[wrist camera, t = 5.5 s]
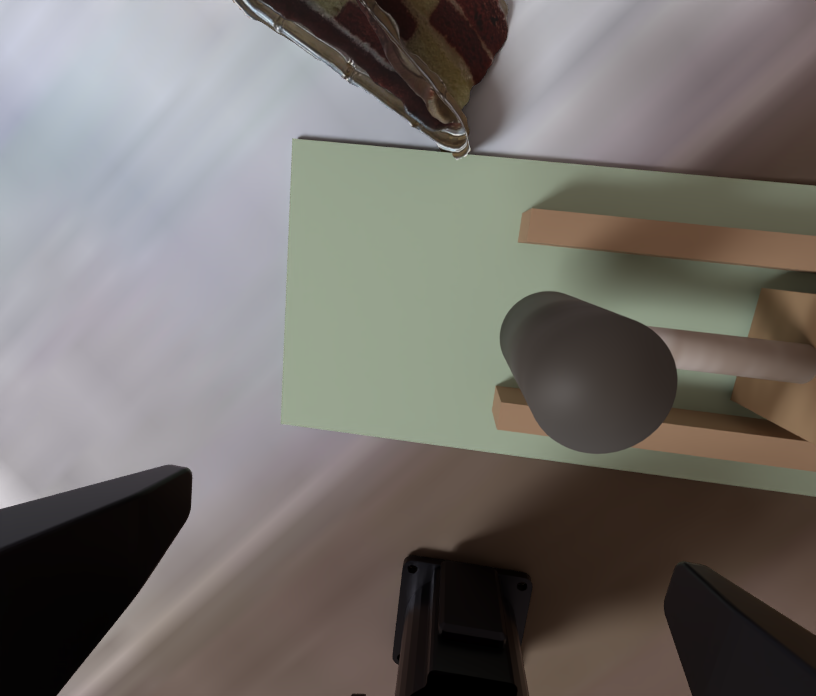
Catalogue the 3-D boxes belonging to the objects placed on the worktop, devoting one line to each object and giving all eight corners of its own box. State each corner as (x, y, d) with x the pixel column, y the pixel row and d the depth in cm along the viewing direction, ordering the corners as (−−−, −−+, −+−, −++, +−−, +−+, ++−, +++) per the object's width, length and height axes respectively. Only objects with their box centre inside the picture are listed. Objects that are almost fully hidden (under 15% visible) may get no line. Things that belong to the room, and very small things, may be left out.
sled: (828, 411, 19) (1201, 571, 9) (482, 368, 20) (511, 474, 10) (865, 299, 18) (1329, 353, 8) (498, 260, 19) (546, 270, 9)
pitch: (1177, 543, 19) (1287, 587, 17) (282, 421, 22) (261, 443, 20) (1350, 235, 16) (1515, 233, 14) (294, 140, 19) (271, 123, 17)
